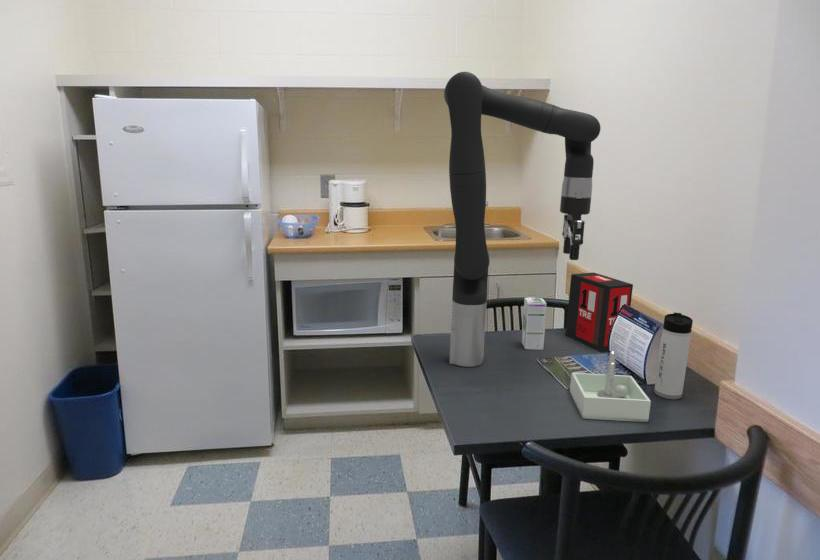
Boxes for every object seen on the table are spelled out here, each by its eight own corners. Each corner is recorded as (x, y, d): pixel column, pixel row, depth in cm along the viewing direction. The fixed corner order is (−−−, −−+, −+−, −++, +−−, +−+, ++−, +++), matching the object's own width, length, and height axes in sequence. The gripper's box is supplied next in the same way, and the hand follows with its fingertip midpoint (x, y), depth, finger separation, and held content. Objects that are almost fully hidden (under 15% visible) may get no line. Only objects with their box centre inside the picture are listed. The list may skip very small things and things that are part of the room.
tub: (582, 418, 128) (584, 397, 127) (569, 391, 142) (571, 372, 141) (648, 422, 127) (650, 401, 126) (628, 395, 141) (631, 375, 140)
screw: (614, 399, 137) (620, 408, 132) (593, 398, 137) (598, 407, 132) (620, 347, 134) (627, 354, 129) (599, 346, 134) (604, 353, 129)
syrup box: (543, 350, 170) (548, 302, 167) (523, 349, 170) (527, 301, 167) (539, 343, 176) (543, 297, 172) (520, 342, 176) (524, 296, 172)
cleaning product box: (625, 349, 173) (633, 284, 168) (602, 352, 169) (609, 286, 165) (587, 332, 188) (593, 272, 183) (565, 335, 184) (571, 274, 179)
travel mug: (680, 390, 144) (691, 314, 140) (683, 401, 138) (695, 321, 133) (653, 386, 146) (663, 310, 141) (654, 397, 140) (665, 318, 135)
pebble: (616, 399, 137) (617, 387, 136) (612, 393, 140) (613, 382, 139) (628, 400, 137) (630, 388, 136) (625, 394, 140) (626, 383, 139)
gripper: (556, 192, 156) (551, 251, 160) (566, 196, 143) (560, 261, 146) (584, 193, 156) (579, 252, 160) (597, 198, 142) (591, 262, 146)
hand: (570, 256), depth 153 cm, fingers open, 8 cm apart
